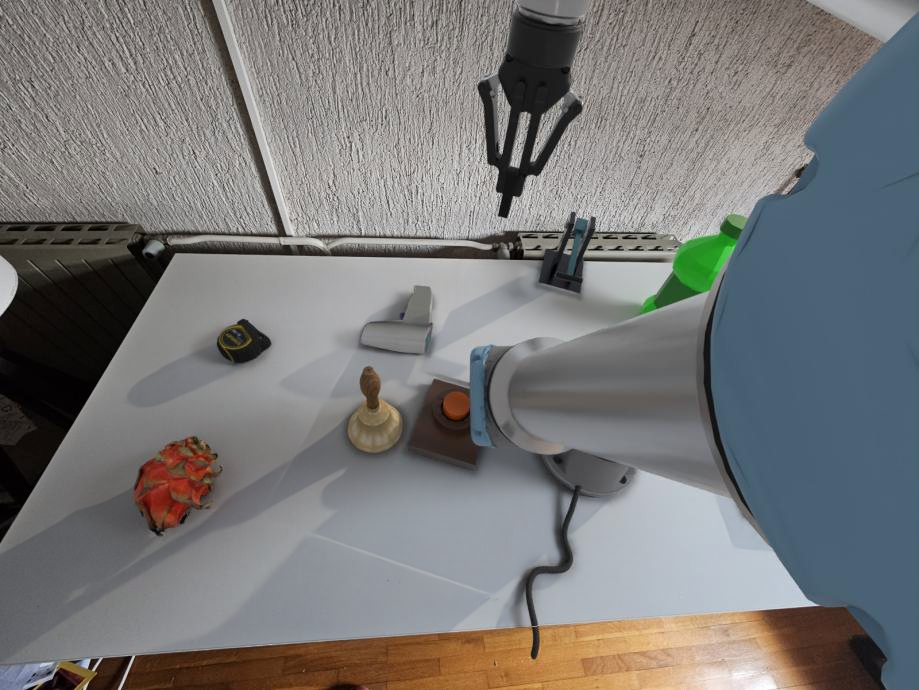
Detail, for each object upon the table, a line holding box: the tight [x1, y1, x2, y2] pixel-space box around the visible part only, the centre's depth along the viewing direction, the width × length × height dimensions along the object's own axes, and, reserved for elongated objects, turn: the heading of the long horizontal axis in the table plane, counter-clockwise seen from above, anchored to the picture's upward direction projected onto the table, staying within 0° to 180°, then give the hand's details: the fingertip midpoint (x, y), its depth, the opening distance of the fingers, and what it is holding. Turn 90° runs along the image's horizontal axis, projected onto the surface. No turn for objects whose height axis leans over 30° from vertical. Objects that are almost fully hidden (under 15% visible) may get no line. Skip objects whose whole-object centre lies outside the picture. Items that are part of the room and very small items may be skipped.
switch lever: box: [555, 216, 589, 285], centre depth 73 cm, size 14×5×2 cm, turn 165°
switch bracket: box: [538, 211, 597, 294], centre depth 79 cm, size 12×9×14 cm
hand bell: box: [347, 365, 404, 454], centre depth 52 cm, size 8×8×16 cm
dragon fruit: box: [133, 435, 224, 538], centre depth 47 cm, size 8×8×12 cm
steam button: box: [443, 392, 470, 421], centre depth 57 cm, size 4×4×2 cm
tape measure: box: [216, 318, 272, 364], centre depth 63 cm, size 7×7×4 cm
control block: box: [408, 378, 481, 471], centre depth 58 cm, size 12×10×4 cm
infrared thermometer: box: [359, 284, 434, 355], centre depth 70 cm, size 5×12×15 cm
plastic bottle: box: [640, 213, 749, 315], centre depth 68 cm, size 10×10×25 cm
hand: (504, 212), depth 58 cm, fingers closed
